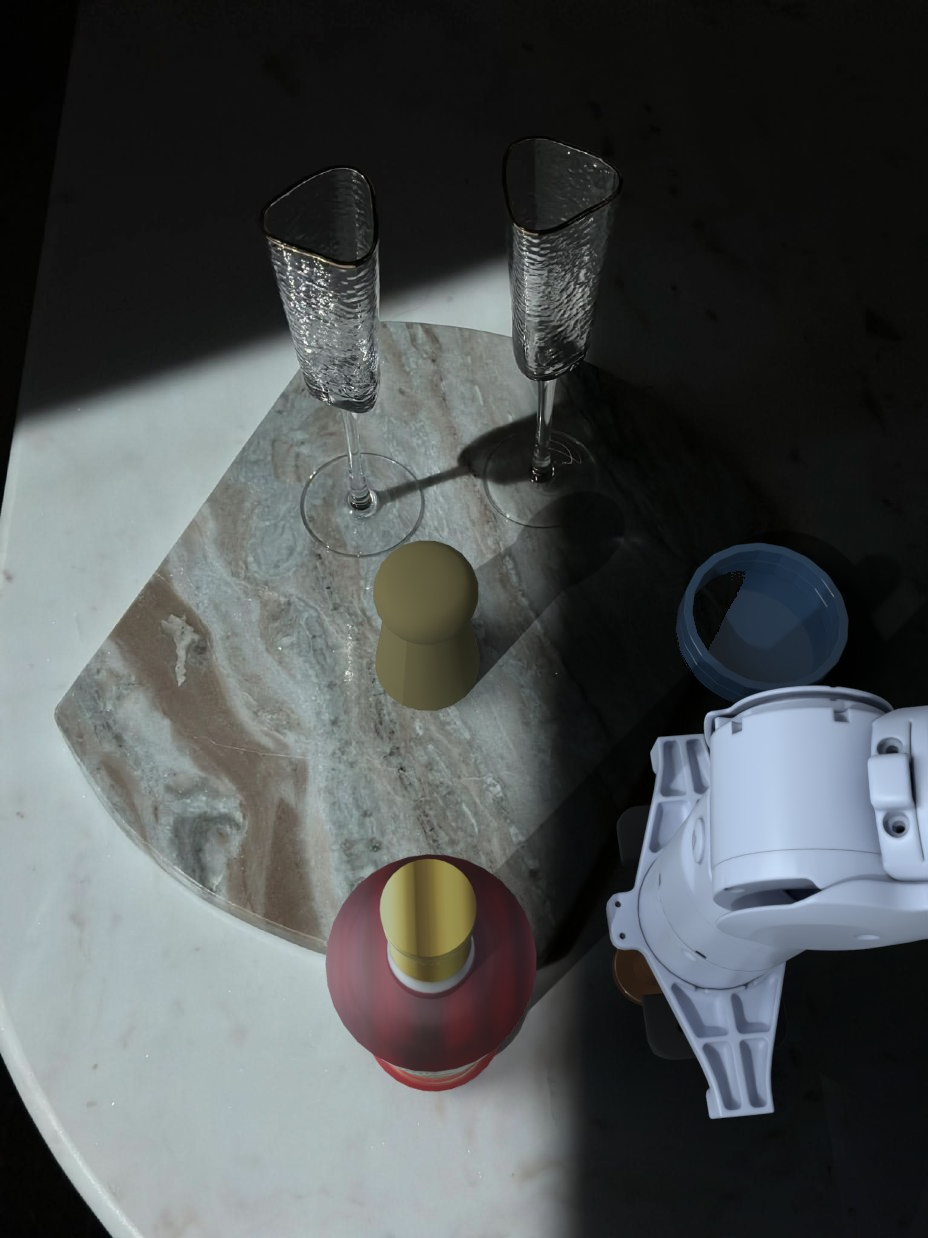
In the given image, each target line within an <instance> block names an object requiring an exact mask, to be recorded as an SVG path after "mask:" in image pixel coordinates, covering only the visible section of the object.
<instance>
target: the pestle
mask: <svg viewBox="0 0 928 1238" xmlns="http://www.w3.org/2000/svg"><path fill="white" fill-rule="evenodd" d="M611 972H612V974H611V975H612V978H613V980H614V983H615V985H616V987H617V990H618V991H619V992H620V993H621V994H622V995H623V997H625V998H626V999H627V1000H628V1001H630V1002H632V1003H634V1004H636V1005H638V1006H641V1007H642V1000H641V996H642V995H648V994H659V993H663V991H662V989H661V987H660V985H659V983H658V982H657V980H656V978H655V976H654V974H653V972H652V970H651V968H650V966H649V964H648V962H647V960H646V958H645V957H644V955H643V954H642V953H641V952H640V951H638V950H633V949H631V950H621V949H618V948H616V950H615V953H614V955H613V958H612V961H611Z"/></svg>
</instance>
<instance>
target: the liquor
mask: <svg viewBox="0 0 928 1238" xmlns="http://www.w3.org/2000/svg"><path fill="white" fill-rule="evenodd" d="M529 921H530V920H529V919H528V916H527V913H526V911H525V910H524V909H523V907H522V904H521V903H520V902H519V901H518V898H517V897H516V895H515V894H514V893H513V892H512V891H511V890H510V889H509V888H508V886H507V885H506V884H505V883H504V882H503V881H502V880H501V879H499V878H498V877H497V876H495V875H494V874H493V873H491V872H490V871H489V870H487V869H486V868H485V867H482V866H480V865H479V864H476V863H475V862H472V861H469V860H467V859H464V858H461V857H456V856H453V855H448V854H431V853H430V854H429V853H425V854H420V855H419V854H418V855H412V856H411V855H410V856H407V857H406V856H405V857H403V858H401V859H398V860H394V861H392V862H389V863H387V864H385V865H384V866H382V867H380V868H379V869H377V870H375V871H374V872H372V873H370V874H369V875H368V876H367V877H366V878H365V879H363V880H362V881H361V882H360V883H358V885H356V887H354V889H353V890H352V891H351V893H349V895H348V896H347V898H346V899H345V900H344V902H343V903H342V904H341V907H340V909H339V911H338V912H337V915H336V917H335V919H334V920H333V922H332V925H331V929H330V933H329V937H328V940H327V942H326V943H327V944H326V954H325V974H326V982H327V983H326V984H327V988H328V992H329V995H330V999H331V1002H332V1006H333V1008H334V1009H335V1010H334V1011H335V1012H336V1013H337V1015H338V1017H339V1019H340V1021H341V1022H342V1024H343V1026H344V1027H345V1029H346V1030H347V1031H348V1032H349V1034H350V1035H351V1036H352V1037H353V1038H354V1040H355V1041H356V1042H357V1043H358V1044H359V1045H361V1046H362V1047H363V1048H364V1049H365V1050H366V1051H368V1052H369V1053H370V1054H372V1056H373V1057H374V1060H375V1061H376V1062H377V1063H378V1065H379V1066H380V1067H381V1068H382V1069H383V1071H384V1072H385V1073H386V1074H388V1075H389V1076H390V1077H391V1078H392V1079H394V1080H395V1081H396V1082H398V1083H400V1084H402V1085H404V1086H406V1087H407V1088H410V1089H415V1090H418V1091H422V1092H435V1093H439V1092H444V1091H450V1090H454V1089H456V1088H459V1087H461V1086H464V1085H467V1084H468V1083H469V1082H470V1081H472V1080H474V1079H476V1078H477V1077H478V1076H479V1075H480V1074H481V1073H483V1071H485V1069H486V1068H487V1067H489V1065H490V1063H491V1062H492V1061H493V1059H494V1058H495V1056H496V1055H497V1053H498V1050H499V1047H500V1046H501V1044H502V1043H503V1042H504V1041H505V1040H506V1039H507V1038H508V1037H509V1036H511V1034H512V1033H513V1031H514V1030H515V1028H516V1027H517V1025H518V1024H519V1023H520V1021H521V1019H522V1018H523V1016H524V1014H525V1012H526V1010H527V1008H528V1005H529V1003H530V1001H531V997H532V995H533V991H534V986H535V981H536V977H537V949H536V943H535V938H534V937H535V936H534V932H533V929H532V927H531V924H530V922H529Z"/></svg>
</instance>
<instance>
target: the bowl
mask: <svg viewBox="0 0 928 1238" xmlns="http://www.w3.org/2000/svg"><path fill="white" fill-rule="evenodd" d="M736 571H742V572H743V571H745V572H746V573H745V572H744V573H745V575H743V574H742V576H743V577H745V579H744V578H743V584H742V586H741V587H740V590H739V592H737V597H736V598H735V599H734V601H733V603H732V604H731V606H730V609H728V611H727V613H726V615H725V617H724V619H723V621H722V623H721V626H720V625H719V626H720V629H719V632H717V634H716V635H715V638H714V640H713V641H712V644H710V647H709V650H707V648H706V647H705V645H704V643H703V642H702V640H701V638H700V637H699V635H698V633H697V629H696V625H695V621H694V616H693V605H694V597H695V594H696V593H697V592H698V591H699V590H700V589H701V588H702V587H703V586H705V585H706V584H707V583H708V582H709V581H710V580H712V579H714V578H717V577H719V576H721V575H724V574H727V573H728V572H731V574H734V573H732V572H736ZM738 574H740V573H738ZM734 575H736V574H734ZM731 577H733V576H731ZM739 577H740V576H739ZM731 580H733V579H731ZM847 611H848V610H847V608H846V605H845V601H844V598H843V595H842V593H841V592H840V590H839V589H838V587H837V585H836V584H835V583H834V581H833V579H832V578H831V577H830V575H829V574H828V573H827V572H826V571H825V570H823V569H822V568H821V567H820V566H819V565H817V563H815V562H814V561H813V560H812V559H810V557H809V558H808V557H807V556H805V555H803V554H801V553H799V552H797V551H794V550H793V549H790V548H788V547H785V546H782V545H777V544H776V545H775V544H770V543H765V542H753V543H744V544H743V543H742V544H736V545H732V546H731V547H728V548H725V549H723V550H721V551H718V552H716V553H714V554H712V555H711V556H710V557H709V558H708V559H707V560H706V561H704V563H702V564H701V565H700V566H698V567H697V569H696V570H695V572H694V574H693V575H692V577H691V579H690V581H689V584H688V585H687V587H686V589H685V591H684V593H683V596H682V598H681V601H680V603H679V605H678V608H677V614H678V615H676V622H677V623H675V634H676V633H677V635H676V638H677V637H678V640H677V643H678V642H679V645H678V648H679V647H680V648H679V651H681V652H680V654H681V653H682V654H681V656H682V655H683V656H682V658H683V657H684V658H685V660H686V662H687V663H688V665H689V667H690V668H691V670H692V672H693V673H694V674H693V673H692V672H691V673H692V674H693V676H694V677H695V678H696V679H697V680H698V681H699V682H700V683H701V684H702V685H703V686H704V687H705V688H707V689H708V690H710V691H711V692H713V693H714V694H715V695H717V696H719V697H720V698H723V699H724V700H728V701H730V702H732V703H734V704H735V703H737V702H738V701H740V700H742V699H744V698H746V697H749V696H751V695H754V694H757V693H761V692H765V691H769V690H774V689H780V688H786V687H797V686H820V684H821V683H822V682H823V681H825V679H826V678H827V677H828V675H829V674H830V673H831V672H832V670H833V669H835V667H836V665H837V664H838V663H839V661H840V659H841V656H842V655H843V652H844V650H845V648H846V646H847V642H848V638H849V637H848V635H849V633H848V632H849V615H848V612H847ZM684 658H683V659H684ZM685 660H684V661H685ZM686 662H685V663H686ZM689 667H688V668H689ZM691 670H690V671H691Z"/></svg>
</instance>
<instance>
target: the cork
mask: <svg viewBox="0 0 928 1238" xmlns="http://www.w3.org/2000/svg"><path fill="white" fill-rule="evenodd" d="M372 589H373V590H372V599H373V603H374V606H375V610H376V613H377V616H378V618H379V619H380V620H381V627H380V631H379V635H378V640H377V646H376V651H375V666H374V669H375V672H376V676H377V679H378V682H379V684H380V686H381V687H382V688H383V690H384V691H385V693H386V694H387V695H388V696H389V697H390V698H391V699H393V700H394V701H395V702H397V703H398V704H400V705H401V706H403V707H406V708H409V709H412V710H416V711H425V712H426V711H428V712H429V711H430V712H434V711H435V712H436V711H438V710H442V709H446V708H449V707H452V706H453V705H455V704H457V703H458V702H460V701H461V700H462V699H464V698H466V696H467V695H468V694H469V693H470V691H471V690H472V689H473V688H474V686H476V682H477V679H478V677H479V674H480V671H481V652H480V649H479V646H478V641H477V637H476V633H475V629H474V625H473V623H472V619H473V618H474V616H475V612H476V610H477V607H478V604H479V580H478V578H477V576H476V573H475V569H474V567H473V566H472V564H471V562H470V561H469V560H468V559H467V557H466V556H465V555H464V554H463V553H462V552H460V551H459V550H457V549H456V548H454V547H453V546H452V545H450V544H447V543H444V542H441V541H437V540H425V539H424V540H420V539H419V540H415V541H412V542H408V543H404V544H402V545H401V546H399V547H397V548H396V549H394V550H393V551H392V550H391V552H390V553H389V554H388V555H387V556H386V557H385V558H384V560H382V562H381V563H380V565H379V568H378V570H377V572H376V574H375V577H374V580H373V588H372Z"/></svg>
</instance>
